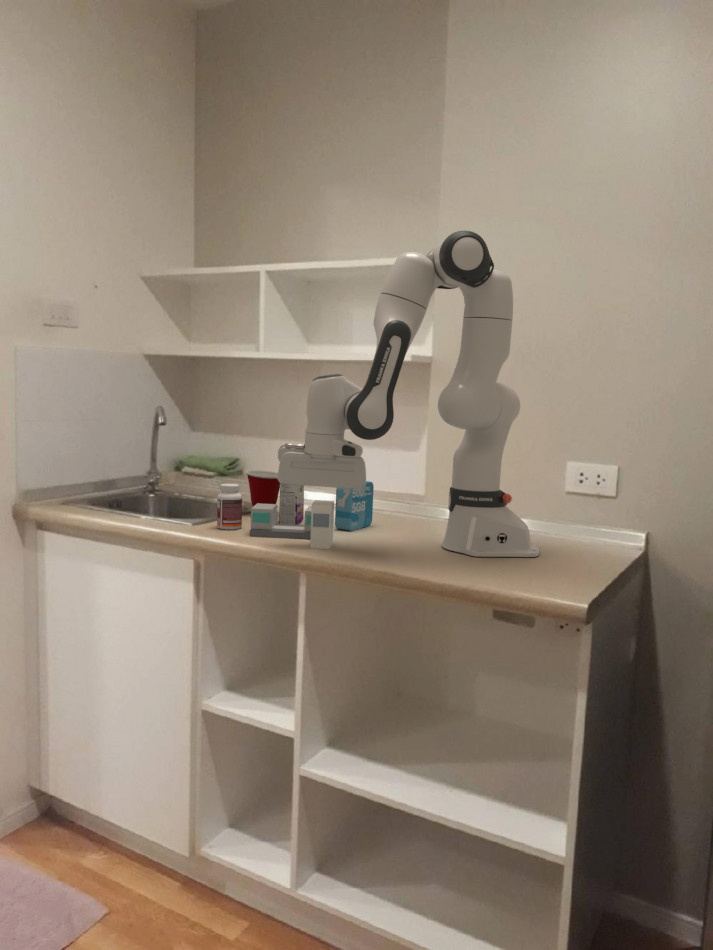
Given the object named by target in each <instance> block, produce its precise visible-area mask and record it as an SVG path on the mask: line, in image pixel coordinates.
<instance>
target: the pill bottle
mask: <svg viewBox="0 0 713 950" xmlns="http://www.w3.org/2000/svg"><path fill="white" fill-rule="evenodd" d="M219 487H220V488H219V489H220V492H219V493H218V494H217V499H216V500H217V501H216V502H217V503H216V504H217V505H216V527H217V529H219V530H224V529H225V531H227V530H228V531H229V530H230V531H235V530H240V529H241V528H242V525H243V496H242V494H241V493H240V492H239V491H240V484H239V483H222V484H220V486H219Z"/></svg>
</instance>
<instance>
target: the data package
mask: <svg viewBox="0 0 713 950" xmlns="http://www.w3.org/2000/svg"><path fill="white" fill-rule="evenodd" d="M374 487H375V485H374V482H372V481H370V480H369V481H368V480H366V486H365V487H364V488H363V489H350V494H349V495H348V497H347V498H346V500H345V506H344V508H340V507H338V499H342V498H343V497H344V495H345V494H346V493H344V488H335V489H336V491H335V509H334V512H335V513H334V525H335V529H337V530H342V531H349V532H352V531H353V532H354V531H358V530H360V529H361V530H362V529H364V528H367V527H370V526H371V525H372V523H373V512H374V509H373V508H374Z"/></svg>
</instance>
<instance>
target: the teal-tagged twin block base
mask: <svg viewBox="0 0 713 950" xmlns="http://www.w3.org/2000/svg"><path fill="white" fill-rule="evenodd" d="M311 510H312V505H308V506H307V508H306V509H304V521H303V523H304V524H298V525H294V524H279V523H277V519H278V518H277V516H278V504H277V503H276V504H260V503H257V504H256V505H255V506H253V507H252V506H251V508H250V530H249V537H256V536H259V537H261V538H277V539H278V538H279V539H297V540H298V539H299V540H311ZM259 537H258V538H259Z"/></svg>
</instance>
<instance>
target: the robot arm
mask: <svg viewBox="0 0 713 950" xmlns="http://www.w3.org/2000/svg"><path fill="white" fill-rule="evenodd" d="M381 288H382V289H381V290H380V293H379V296H378V299H377V303H376V306H375V310H374V311H375V312H374V318H373V327H374V332H375V336H376V349H375V353H374V356H373V359H372V361H371V362H372V363H371V366H370V368H369V371H368V375H367V378H366V381H365V383H364V386H363V387H360V385H357V384H355V383H353V382H352V381H351V380H350V379H348V378H347V377H345V375H344V374H340V373H335V374H326V375H320V376H316V377H315V378H314V379H312V380H311V382H310V384H309V387H308V391H307V400H306V401H307V402H306V417H307V424H306V427H305V432H304V433H305V434H304V444H301V443H286V442H285V443H284V444H282V445H281V446H280V447H279V448H278V450H277V459H278V462H279V465H278V471H277V473H278V481H279V482H280V483H281V484H292V485H293V491H294V493H295V495H296V497H297V504H299V505H303V504H304V505H305V501H304V500H305V495H304V496H301V495H300V493H299V491H298V489H299V488H300V485H304V486H306V487H307V486H309V487H321V488H323V487H324V488H333V489H334V488H335V489H336V488H344V493H346V494H345V495H344V497H343V498H342V499H338V507H340V508H344V506H345V500H346V498H347V497H348V495H349V494H350V489H363V488H364V487H365V486H366V481H367V469H366V461H365V459H364V457H362V454H363V452H364V451H363V449H364V448H363V447H362V446H361V445H359V444H357V443H355V442H352V441H350V440H347V439H345V431H346V430H350V431H351V433H352V434H354V435H355V436H356V437H357V438H360V439H362V440H366V441H373V440H378V439H379V438H382V437H383V436H385V435H386V434H387V433H388V432H389V430H390V429H391V428H392V425H393V422H394V419H395V418H394V417H395V414H394V413H395V412H394V399H393V397H394V392H395V390H396V389H395V388H396V385H397V382H398V379H399V376H400V373H401V370H402V368H403V364H404V361H405V357H406V354H407V353H408V351H409V349H410V347H411V344H412V343H413V341H414V339H415V337H416V335H417V333H418V331H419V330H420V328H421V326H422V323H423V321H424V318H425V315H426V313H427V310H428V307H429V304H430V301H431V298H432V296H433V294H434V292H435V291H436V289H442V290H454V289H456V288H457V289H458V288H459V290H460V291H461V294H462V295H463V301H464V309H463V316H462V329H461V341H460V350H459V355H458V359H457V362H456V365H455V368H454V370H453V373H452V377H451V378H450V381H449V383H448V384H447V385H446V386H445V387H444V389H442V391H441V392H440V394H439V396H438V397H439V398H438V401H437V410H438V413H439V416H440V417H441V419H442V420H443V421H444V422H445V424H447V425H449V426H452V427H454V428H457V429H460V430H465V431H464V434H463V437H462V440H461V442H460V444H459V446H458V447H457V449H455V451H454V454H453V457H452V458H453V459H452V474H451V475H452V476H451V477H452V478H451V480H452V481H451V486H450V487H449V492H448V500H447V501H448V506H447V508H448V511H449V512H448V518H447V523H446V524H447V525H446V530H445V533H444V536H443V540H442V542H441V547H442V548H444V549H446V550H448V551H453V552H455V553H462V554H465V555H468V556H472V557H479V558H480V557H485V558H487V557H497V558H498V557H501V558H503V557H504V558H506V557H508V558H509V557H510V558H511V557H512V558H514V557H515V558H535V557H538V556H540V549H539V547H538V546H537V545H536V544H534V543H532V542H531V535H530V529H529V526H528V525H527V523H526V522H525V521H524V520H522V519H521V518H520V516H518V515H517V514H516V513H515V512H514V511H513V510H512V509H510V508H509V507H508V506H507V505H508V504H511V502H512V501H513V496H512V495H511V494H509V493H506V492H504V491H503V490H501V489H500V487H501V474H502V460H503V454H504V450H505V445H506V443H507V439H508V436H509V433H510V430H511V427H512V424H513V423H514V421H516V419H517V417H518V415H519V414H520V410H521V400H520V398H519V395H518V393H517V392H516V390H514V389H512V388H511V387H509V386H508V385H505V384H504V383H501V382H497V381H498V378H499V375H500V371H501V369H502V367H503V365H504V363H505V362H506V361H507V360H508V358H509V356H510V353H511V352H510V351H511V340H512V331H513V330H512V329H513V317H514V316H513V315H514V295H513V294H514V293H513V284H512V280H511V278H510V276H509V275H508V274H507V273H506V272H504V271H502V270H499V269H495V263H494V261H493V259H492V257H491V255H490V251H489V248H488V245H487V243H486V242H485V239H483V237H482V236H481V235H479V234H478V233H476V232H475V231H471V230H458V231H455V232H452V233H450V234H449V235H448V236H446V237H445V238H443V239H441V240H440V241H439V242H438V243H437V245H436V246H435V247H434V248H433V249H432V250H430V251H429V252H428V253H427V254H423V253H420V252H418V251H407V252H403V253H401V254H400V255H398V256H397V258H396V260H395V261H394V263H393V265H392V266H391V268H390V270H389V272H388V274H387V276H386V278H385V281H384V283H383V285H382V287H381Z"/></svg>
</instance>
